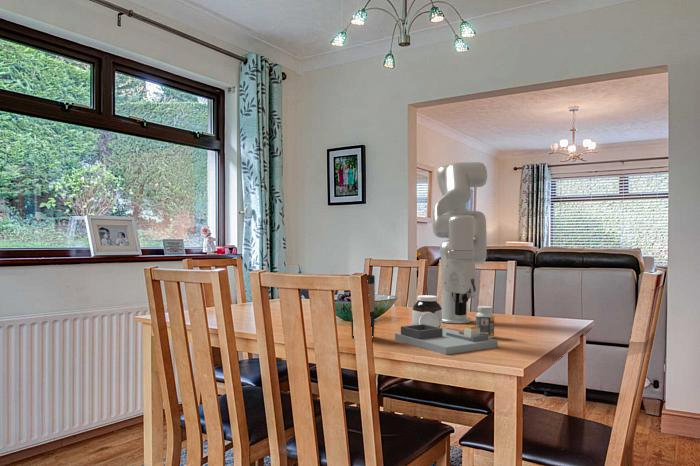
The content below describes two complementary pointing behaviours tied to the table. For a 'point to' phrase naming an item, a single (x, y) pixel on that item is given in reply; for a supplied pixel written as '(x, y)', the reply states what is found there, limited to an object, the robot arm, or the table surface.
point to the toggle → (471, 331)
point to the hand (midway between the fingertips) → (460, 314)
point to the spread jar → (427, 311)
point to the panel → (443, 339)
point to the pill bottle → (485, 321)
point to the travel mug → (371, 301)
